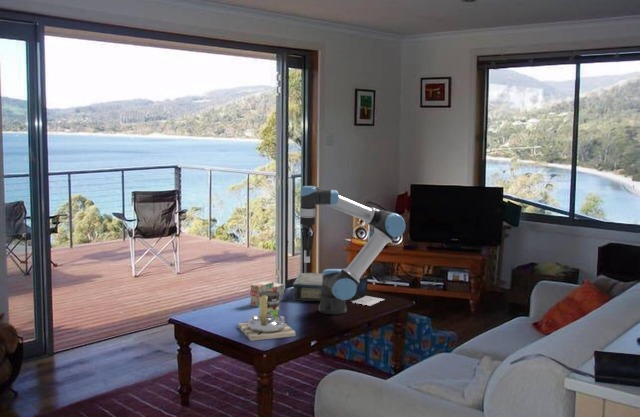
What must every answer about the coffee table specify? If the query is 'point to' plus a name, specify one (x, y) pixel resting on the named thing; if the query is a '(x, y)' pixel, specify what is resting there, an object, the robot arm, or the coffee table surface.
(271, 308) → the coffee can
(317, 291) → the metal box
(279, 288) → the stack of blocks
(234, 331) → the coffee table surface
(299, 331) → the coffee table surface
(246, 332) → the base board
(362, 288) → the laptop
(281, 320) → the disc stand with rod
